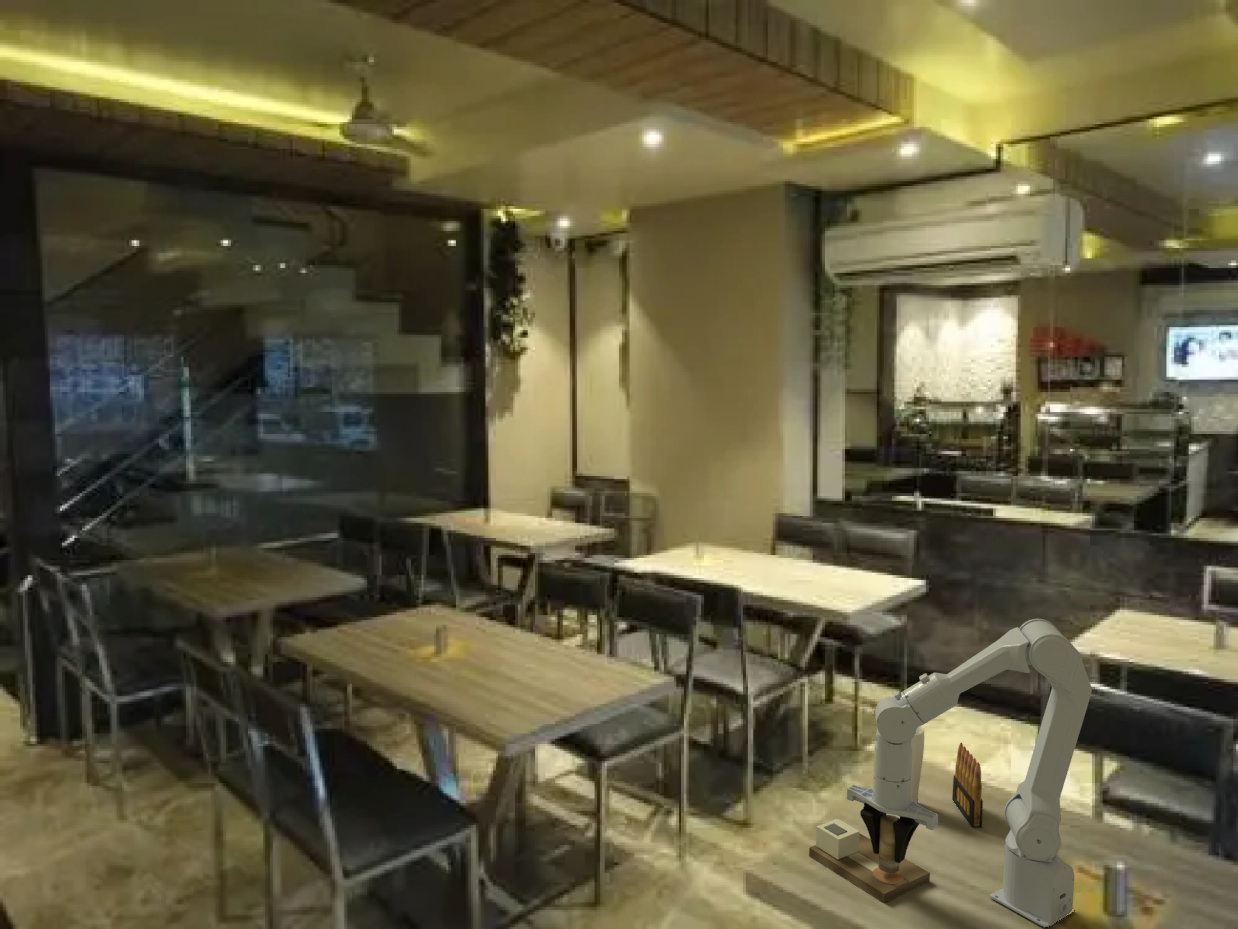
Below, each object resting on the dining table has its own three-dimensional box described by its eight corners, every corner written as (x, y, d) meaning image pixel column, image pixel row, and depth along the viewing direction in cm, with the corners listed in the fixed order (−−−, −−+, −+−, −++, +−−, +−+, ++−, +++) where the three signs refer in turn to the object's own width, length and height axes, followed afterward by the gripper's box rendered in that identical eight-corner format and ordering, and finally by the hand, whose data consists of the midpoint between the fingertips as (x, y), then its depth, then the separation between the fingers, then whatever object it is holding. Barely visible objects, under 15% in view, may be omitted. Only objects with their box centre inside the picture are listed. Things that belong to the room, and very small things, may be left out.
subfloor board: (929, 881, 143) (929, 872, 143) (883, 903, 137) (884, 892, 137) (853, 838, 156) (854, 829, 156) (809, 856, 150) (809, 846, 150)
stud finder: (858, 851, 149) (859, 830, 149) (838, 859, 146) (838, 838, 146) (836, 838, 153) (837, 818, 153) (815, 846, 150) (816, 825, 150)
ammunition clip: (951, 800, 171) (954, 740, 170) (961, 800, 171) (964, 740, 170) (971, 828, 160) (975, 764, 159) (982, 828, 160) (985, 764, 159)
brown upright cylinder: (902, 867, 142) (904, 820, 141) (893, 875, 140) (895, 826, 139) (883, 860, 144) (886, 813, 143) (874, 867, 142) (876, 819, 141)
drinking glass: (914, 815, 165) (917, 738, 163) (879, 804, 169) (882, 729, 167) (926, 802, 170) (929, 726, 169) (891, 791, 174) (894, 718, 173)
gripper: (947, 780, 138) (943, 863, 140) (862, 753, 148) (859, 830, 149) (928, 795, 133) (924, 881, 134) (841, 766, 143) (838, 846, 144)
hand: (889, 855), depth 142 cm, fingers closed on brown upright cylinder, 3 cm apart
